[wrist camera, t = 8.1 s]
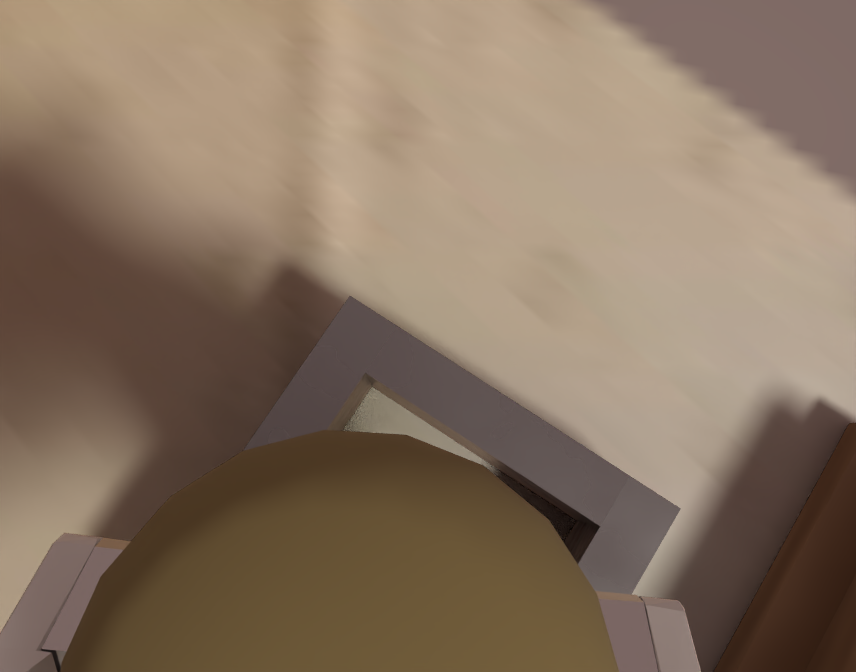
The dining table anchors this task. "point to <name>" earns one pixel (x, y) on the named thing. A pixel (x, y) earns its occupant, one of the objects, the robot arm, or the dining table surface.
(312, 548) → the cork
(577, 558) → the socket block
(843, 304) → the dining table surface
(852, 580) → the walnut rack
